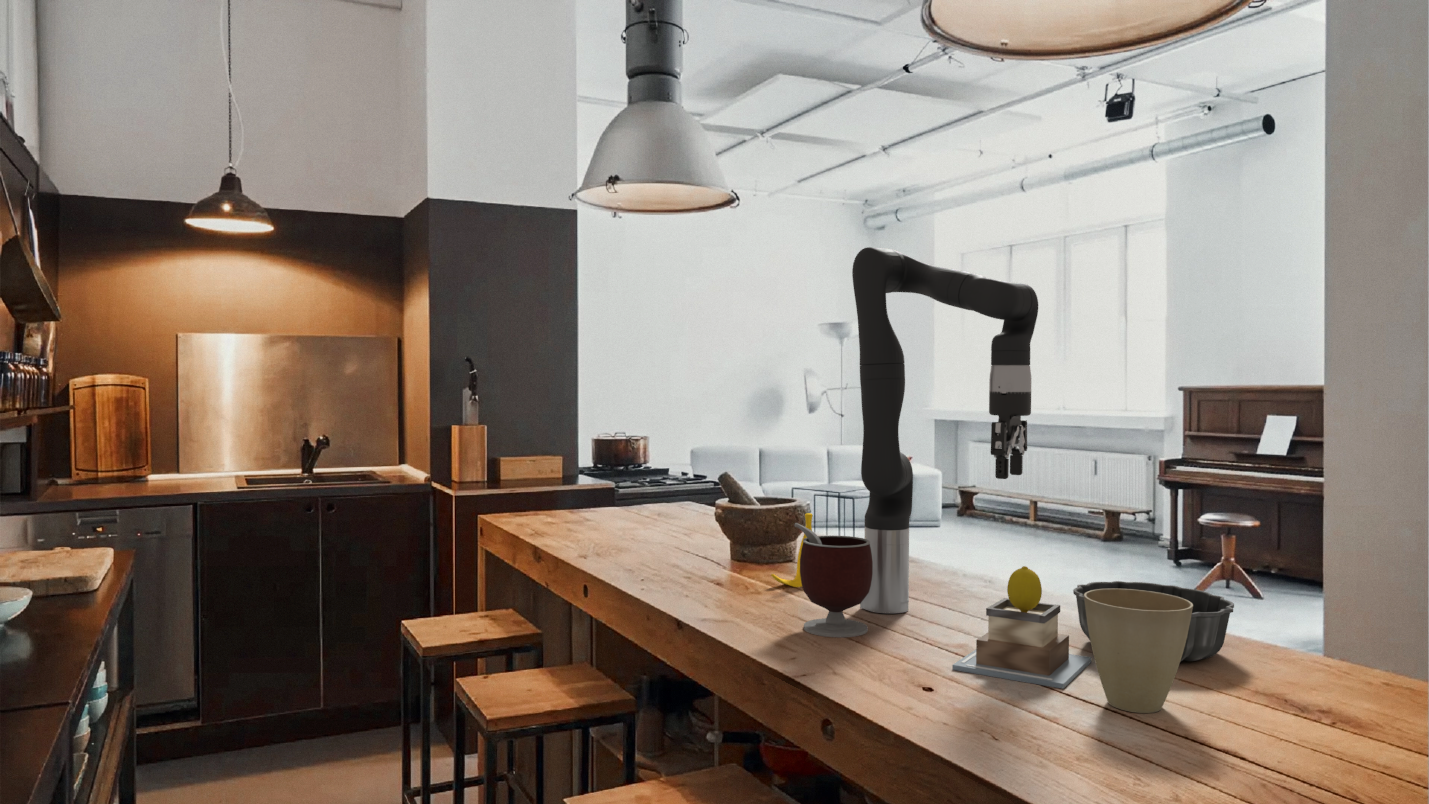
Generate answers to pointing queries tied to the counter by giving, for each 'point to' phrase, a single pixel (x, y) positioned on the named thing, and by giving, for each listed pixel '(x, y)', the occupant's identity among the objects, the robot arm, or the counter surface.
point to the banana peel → (797, 579)
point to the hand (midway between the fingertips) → (1009, 476)
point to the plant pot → (1137, 644)
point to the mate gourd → (835, 580)
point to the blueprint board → (1056, 679)
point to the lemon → (1024, 589)
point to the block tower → (1023, 639)
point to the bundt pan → (1205, 617)
